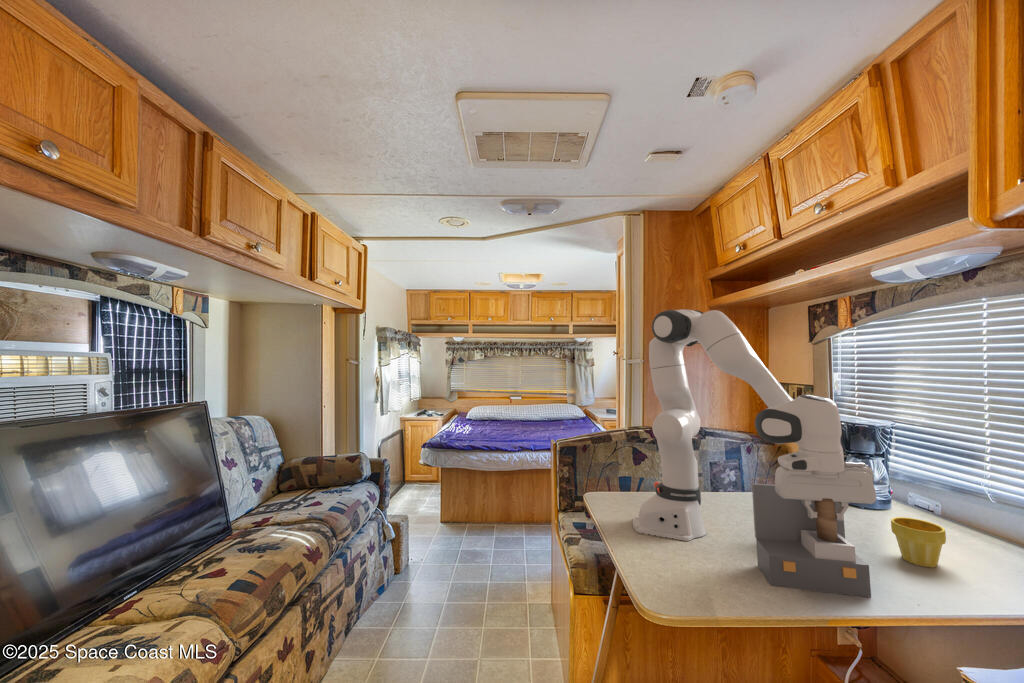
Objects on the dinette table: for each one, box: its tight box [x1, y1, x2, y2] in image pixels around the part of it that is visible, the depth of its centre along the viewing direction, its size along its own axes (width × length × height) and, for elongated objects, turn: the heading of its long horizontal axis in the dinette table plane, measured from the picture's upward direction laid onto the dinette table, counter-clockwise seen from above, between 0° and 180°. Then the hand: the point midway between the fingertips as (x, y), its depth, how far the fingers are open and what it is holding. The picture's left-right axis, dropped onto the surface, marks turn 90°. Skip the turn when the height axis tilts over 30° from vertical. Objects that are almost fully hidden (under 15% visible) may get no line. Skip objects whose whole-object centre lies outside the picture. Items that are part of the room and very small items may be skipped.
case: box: [751, 482, 872, 598], centre depth 99 cm, size 20×12×21 cm, turn 74°
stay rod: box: [814, 498, 838, 542], centre depth 98 cm, size 4×4×10 cm
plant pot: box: [890, 516, 947, 568], centre depth 107 cm, size 10×10×10 cm
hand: (825, 518), depth 98 cm, fingers closed on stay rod, 4 cm apart
